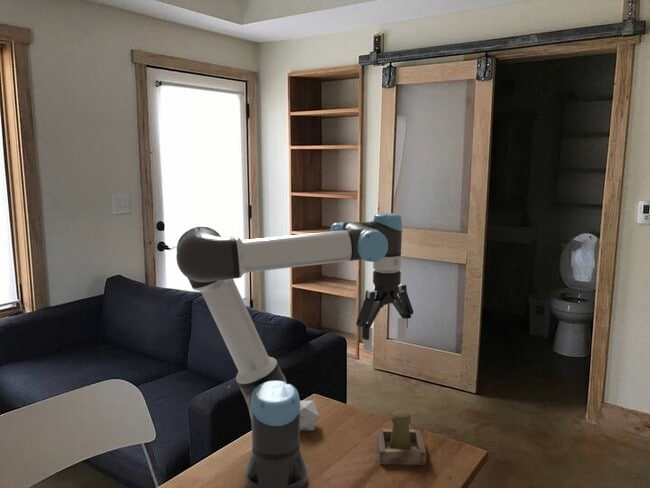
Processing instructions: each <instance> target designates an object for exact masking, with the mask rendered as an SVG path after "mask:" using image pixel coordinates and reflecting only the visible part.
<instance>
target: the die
mask: <svg viewBox="0 0 650 488" xmlns="http://www.w3.org/2000/svg"><path fill="white" fill-rule="evenodd" d="M319 418H320V414H319V412H318V409H317V406H316V403H315V402H314V400H300V432H312V431H314V430H315V428H316V427H317V426H316V425H317V423H318V420H319Z"/></svg>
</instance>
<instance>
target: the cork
mask: <svg viewBox="0 0 650 488" xmlns="http://www.w3.org/2000/svg"><path fill="white" fill-rule="evenodd" d="M411 422H412V417H411V414H410V413H409V412H408V411H407V410H403V409H399V410H395V411H393V412H392V414H391V423H392V428H391V429H392V434H391V440H390V446H389V449H411V443H410V433H409V429H410V426H409V425H410V424H411Z"/></svg>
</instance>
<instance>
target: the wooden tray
mask: <svg viewBox="0 0 650 488" xmlns="http://www.w3.org/2000/svg"><path fill="white" fill-rule="evenodd" d="M392 429H393V428H377V429H376V432H377V433H376V442H377V444H376V445H377V452H378V460H379V461H378V462H379V465H404V466H405V465H407V466H427V450H426V446H425V443H424V439H423V435H422V432H421V429H413V428H412V429H410V428H409V433H410V443H411V449H389V446H390V440H391V434H392Z"/></svg>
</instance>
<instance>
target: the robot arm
mask: <svg viewBox="0 0 650 488" xmlns="http://www.w3.org/2000/svg"><path fill="white" fill-rule="evenodd" d="M402 222H403V221H402V217H401V215H400V214H398V213H393V212H391V213H389V212H387V213H386V212H381V213H375V214H374V216H373V220H370V221H341V222H334V223H333V224H331V225H330V229H329V231H322V232H312V233H302V234H292V235H291V234H290V235H282V236H270V237H263V238H262V237H260V238H250V239H241V238H239V237H238V236H234V235H233V236H221V234H220V233H219V232H218V231H216V230H215V229H213V228H211V227H208V226H195V227H192V228H190V229H188V230H186V231H185V232H184V233H182V235H181V236H180V238H179V239H178V241H177V245H176V264H177V266H178V268H179V270H180V272H181V273H182V275H183V276H184V277H186V278H187V280H188V282H189V284H190V286H191V288H192V289H193V290H194V291H198V292H200V293H201V295H202V297H203V299H204V300H205V303H206V306H207V307H208V310H209V312H210V313H211V316H212V318H213V320H214V322H215V324H216V327H217V328H218V331H219V333H220V335H221V337H222V339H223V341H224V344H225V345H226V347H227V351H229V354H230V355H231V358H232V360H233V363H234V365H235V367H236V369H237V371H238V372H237V373H236V377H235V381H236V382H237V385H238V387H239V389H240V391H241V393H242V395H243V397H244V400H245V403H246V404H247V410H248V412H249V416H250V421H251V446H252V448H251V449H252V451H251V455H250V457H249V461H248V463H247V467H246V470H245V485H246V487H247V488H304V487H305V485H306V484H307V481H308V469H307V466H306V462H305V460H304V457H303V453H302V452H301V448H300V447H301V446H300V445H301V443H300V441H301V436H300V435H301V434H300V433H301V431H300V401H301V399H300V393H299V391H298V389H297V388H296V387H295V386H294V385H293V384H291V383H288V382H287V379H286V376H285V375H284V373H283V371H282V370H281V367H280V365H279V363H278V360H277V359H276V358H275V357H273V356H272V357H271V356H269V355H268V352H267V350H266V347H265V346H264V344H263V341H262V340H261V337H260V335H259V333H258V331H257V328H256V326H255V323H254V322H253V319H252V318H251V315H250V313H249V311H248V308H247V306H246V304H245V302H244V299H243V297H242V295H241V293H240V291H239V289H238V287H237V285H236V282H235V279H240V278H242V277H243V275H244V274H245V273H255V272H263V271H265V272H266V271H272V270H273V271H274V270H282V269H290V268H291V269H292V268H298V267H308V266H309V267H310V266H317V265H323V264H324V265H325V264H326V265H327V264H335V263H341V262H342V263H343V262H350V261H352V262H353V261H361V260H362V261H365V262H370V263H372V262H373V263H372V269H373V272H372V283H373V285H374V290H368V289H366V290H365V295H364V300H363V304H362V306H361V309H360V311H359V314H358V317H357V320H356V323H355V324H356V326H358V327H361V330H362V331H361V334H362V335H361V337H362V339H363V342H362V343H363V346H362V347H363V350H365V351H367V352H370V353H371V352H373V341H374V340H373V338H374V337H373V331H374V330H373V328H374V327H372V325H373V323H374V321H375V320H376V317H377V316H378V314H379V312H380V310H381V309H382V308H383V307H384V306H387V305H389V304H392V306H393V307H394V309H396V311H397V312H398V314H399V316H398V317H397V340H400V341H404V342H406V341H407V333H408V332H407V331H408V330H407V329H408V325H409V323H408V322H409V319H411V318H412V315H413V314H414V310H413V306H412V303H411V301H410V300H411V299H410V298H409V295H408V292H407V290H408V289H407V287H408V286H407V284H403V283H401V277H402V275H401V273H402V272H401V271H400V270H401V269H402V268H401V267H402V238H403V223H402Z"/></svg>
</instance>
